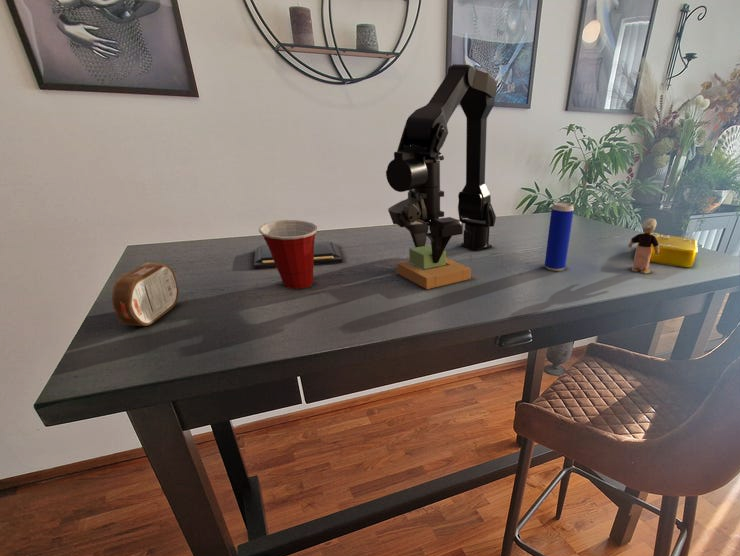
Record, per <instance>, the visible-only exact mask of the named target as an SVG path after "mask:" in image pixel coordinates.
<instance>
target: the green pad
mask: <svg viewBox="0 0 740 556" xmlns="http://www.w3.org/2000/svg"><path fill="white" fill-rule="evenodd" d="M408 253H409V255H408V256H409V263H410V264H412V265H414V266H416V267H418V268H420V269H422V270H428V269H433V268H435V267H438V266H443V265H446V258H447V251H446V250H444V251H443V253H442V256H441V258H440V260H439V262H438V263H434V262H433V257H432V247H431V244H428V245H425V246H421V247H416V248H415V247H409V248H408Z"/></svg>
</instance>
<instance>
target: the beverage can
mask: <svg viewBox="0 0 740 556" xmlns="http://www.w3.org/2000/svg"><path fill="white" fill-rule="evenodd" d="M574 211H575V209H574V204H572V203H568V202H567V203H566V202H554V203H552V206H551V209H550V218H549V226H548V236H547V242H546V252H545V259H544V260H545V261H544V266H545V269H547V270H549V271H552V272H553V271H554V272H558V271H559V272H560V271H563V270H564V269H565V268H566V267H567V266H566V265H567V259H568V251H569V246H570V237H571V233H572V226H573V225H572V224H573V218H574Z"/></svg>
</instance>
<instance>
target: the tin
mask: <svg viewBox="0 0 740 556" xmlns="http://www.w3.org/2000/svg"><path fill="white" fill-rule="evenodd" d="M178 298H179V287H178V282H177V278H176V274H175V271H174V269H173V268H172V267H170V265H168V264H165V263H157V262H151V261H148V262H145V263H143V264H141V265H139V266H138V267H135V268H134V269H132V270H130V271H128V272H126V273H124V274H122V275H121V276H119V277H118V278H117V279H116V281H115V283H114V285H113V288H112V293H111V300H112V307H113V311H114V313H115V315H116V317H117V318H118V320H119V321H120V322H121V323H122V324H123V325H126V326H128V327H133V326H134V327H135V326H136V327H147V326H151V325H153V324H154V323H155V322H157V321H158V320H159V319H160V318H161V317H163V316H164V315H165V314H167V313H168V312H170V311H171V310H172V309H173V308H174V307H175V306H176V303H177V302H178Z"/></svg>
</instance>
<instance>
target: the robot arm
mask: <svg viewBox="0 0 740 556" xmlns="http://www.w3.org/2000/svg"><path fill="white" fill-rule="evenodd" d="M497 91H498V84H497V80H496V79H495V78H494V76H493V75H492V73H491V72H485V71H482V70H479V69H476V68H475V66H472V65H470V64H460V63H459V64H457V63H456V64H455V63H454V64H452V65H449V66H448V69H447V74H446V75H445V77H444V78H443V80H442V82H441V83H440V85H439V86H438V88H437V89H436V90H435V92H434V93H433V95H432V96H431V98H430V100H429V102H428V103H427V104H426V105H424V106H421V107H419V108H417V109H415V110H414V111H413V112H412V113H411V114H410V115H409V116H408V117H407V119H406V121H405V124H404V127H403V130H402V132H401V137H400V140H399V144H398V147H397V150H396V151H394V152H393V159H391V160H390V162H389V163H388V165H387V167H386V171H385V177H386V181H387V183H388V185H389V186H390V187H391V189H393V190H394V191H396V192H398V193H404V192H407V191H408V192H407V198H406V199H404V200H403V199H402V200H400V201H399V202H397V203H395V204H393V205H392V206H390V207H389V208H387V211H388V213H389V217H390V219H391V221H392V225H397V226H399V227H400V228H405V229H406V231H408V232H409V235H410V236H411V239H412V242H413V244H414V248H416V247H421V246H426V244H427V243H426V242H427V238H428V239H429V240H430V245H431V247H432V257H433V262H434V263H438V262H439V260H440V258H441V256H442V253H443V251H445V249H446V247H447V245H448V244H449V242H450V240H451V238H452V237H454V236H459V235H463V242H461V243H460V246H462V247H464V248H467V249H468V250H471V251H480V250H485V249H491V248H493V245H492V244H489V241H490V227H495V224H496V218H497V215H496V213H495V210H494V207H493V205H492V203H491V192H490V191H489V189H488V187H487V185H486V182H485V181H486V160H487V159H486V157H487V156H486V155H487V126H488V125H487V124H488V123H487V122H488V117H489V115H490V113H492V110H493V109H494V106H495V100H496V99H495V98H496V95H497ZM458 106H460V107H461V110H462V113H463V114H464V116H465V118H466V125H465V126H466V127H465V128H466V132H465V133H466V136H465V137H466V140H465V141H466V142H465V146H466V147H465V150H466V151H465V152H466V153H465V184H464V187H463V188H462V189H461V191H459V192H458V194H457V195H458V196H457V198H458V203H457V212H458V218H459V219H457V218H454V217H452V216H447V217H445V211H443V210H441V198H444V197H445V191H443V190H441V161H444V160H445V156H444V155H443V153H442V152H440V151H441V149H442V147H443V146H444V144H445V142H446V139H447V137H448V134H449V129H448V123H449V121H450V119H451V117H452V116H453V114H454V113H455V111H456V109H457V107H458Z"/></svg>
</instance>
